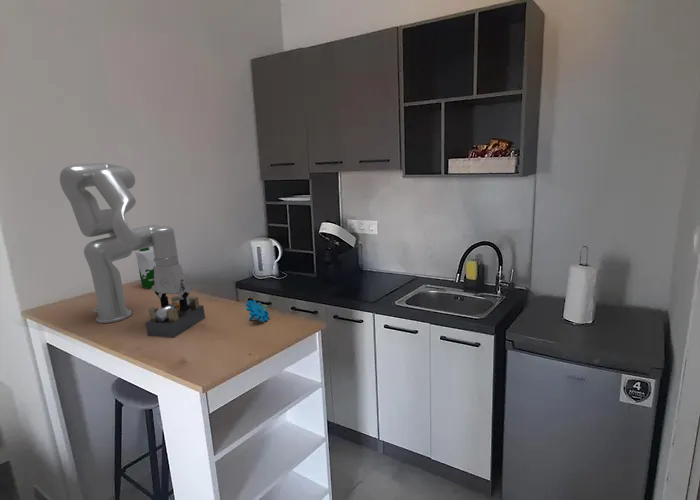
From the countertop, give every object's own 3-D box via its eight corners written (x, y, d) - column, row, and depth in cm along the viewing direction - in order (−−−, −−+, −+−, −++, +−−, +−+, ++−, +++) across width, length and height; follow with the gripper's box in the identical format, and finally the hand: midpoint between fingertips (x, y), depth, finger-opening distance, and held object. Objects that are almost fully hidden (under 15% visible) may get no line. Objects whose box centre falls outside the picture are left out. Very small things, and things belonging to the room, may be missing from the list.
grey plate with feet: (147, 335, 153) (143, 311, 151) (180, 316, 170) (177, 294, 168) (174, 337, 150) (169, 312, 148) (205, 317, 167) (201, 295, 165)
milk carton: (157, 282, 219) (150, 243, 215) (165, 285, 213) (158, 245, 208) (139, 287, 213) (132, 247, 208) (147, 290, 207) (140, 249, 202)
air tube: (165, 321, 151) (163, 310, 150) (155, 321, 152) (153, 310, 151) (193, 305, 166) (192, 295, 165) (184, 305, 167) (183, 295, 166)
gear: (261, 322, 154) (243, 301, 156) (251, 333, 156) (233, 312, 158) (276, 315, 165) (259, 295, 166) (267, 325, 166) (250, 306, 168)
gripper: (139, 263, 154) (147, 311, 158) (180, 264, 149) (188, 313, 153) (154, 258, 161) (162, 303, 165) (194, 259, 156) (201, 305, 160)
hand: (174, 308), depth 159 cm, fingers open, 7 cm apart
